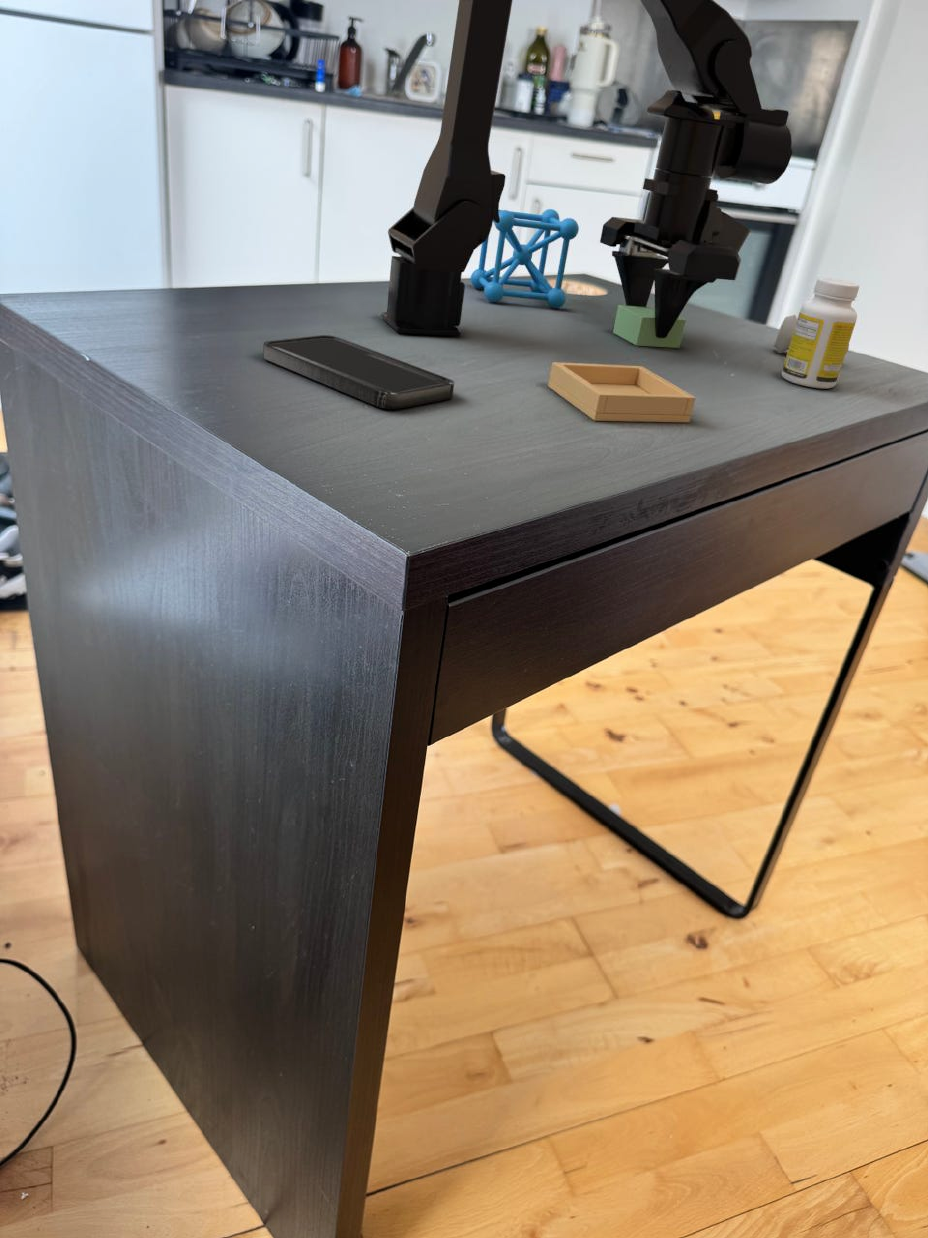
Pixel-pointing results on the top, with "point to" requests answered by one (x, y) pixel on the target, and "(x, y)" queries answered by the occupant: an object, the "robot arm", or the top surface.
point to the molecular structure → (526, 257)
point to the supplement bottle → (822, 335)
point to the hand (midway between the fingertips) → (647, 330)
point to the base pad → (620, 393)
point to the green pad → (645, 327)
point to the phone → (359, 371)
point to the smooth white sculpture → (787, 334)
